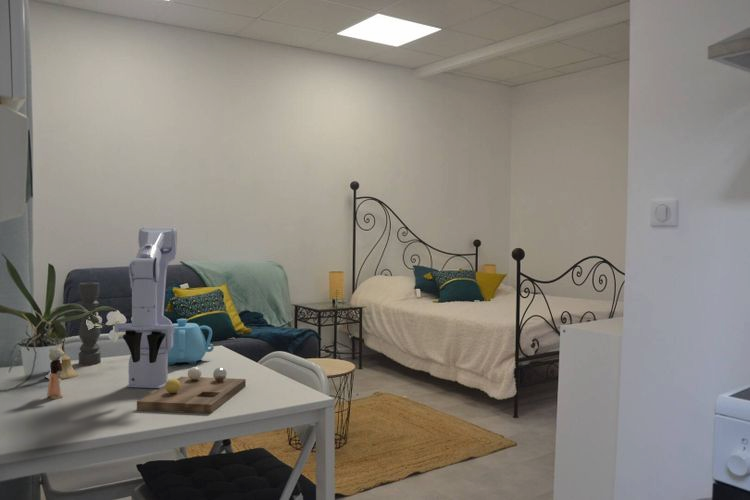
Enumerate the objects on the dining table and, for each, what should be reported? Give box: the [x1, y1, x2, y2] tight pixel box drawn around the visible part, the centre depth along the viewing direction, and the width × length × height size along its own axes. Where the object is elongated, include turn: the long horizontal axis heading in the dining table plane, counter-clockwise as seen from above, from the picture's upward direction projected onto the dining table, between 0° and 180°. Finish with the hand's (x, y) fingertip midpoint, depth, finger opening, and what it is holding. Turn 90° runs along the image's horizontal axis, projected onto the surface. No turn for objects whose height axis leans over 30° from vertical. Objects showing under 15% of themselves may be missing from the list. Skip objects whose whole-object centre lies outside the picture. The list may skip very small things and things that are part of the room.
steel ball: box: [212, 367, 228, 381], centre depth 158 cm, size 4×4×4 cm
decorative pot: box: [168, 318, 215, 366], centre depth 191 cm, size 16×16×14 cm
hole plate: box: [136, 376, 247, 414], centre depth 150 cm, size 18×24×2 cm
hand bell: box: [61, 326, 79, 381], centre depth 170 cm, size 8×8×16 cm
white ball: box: [187, 366, 202, 380], centre depth 159 cm, size 4×4×4 cm
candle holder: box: [78, 282, 102, 366], centre depth 187 cm, size 6×6×25 cm
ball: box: [165, 378, 180, 393], centre depth 146 cm, size 4×4×4 cm
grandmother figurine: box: [46, 346, 64, 400], centre depth 149 cm, size 8×4×13 cm, turn 49°
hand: (144, 361), depth 147 cm, fingers open, 4 cm apart
